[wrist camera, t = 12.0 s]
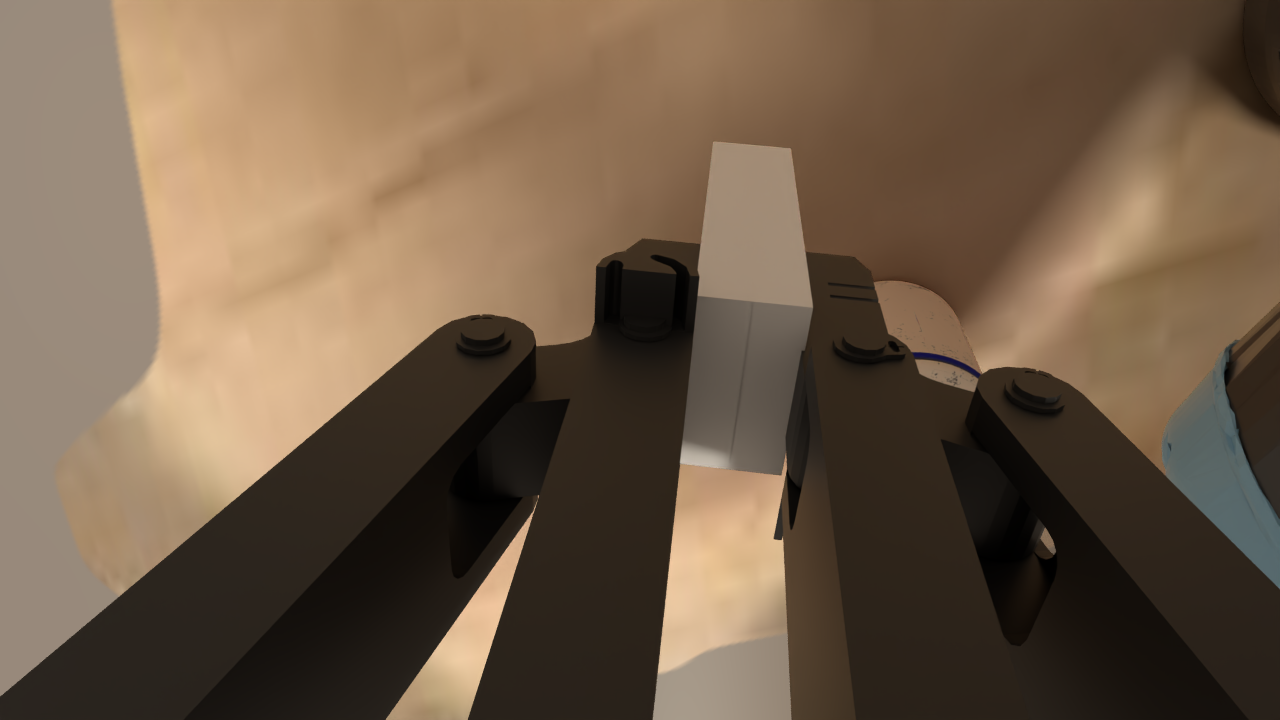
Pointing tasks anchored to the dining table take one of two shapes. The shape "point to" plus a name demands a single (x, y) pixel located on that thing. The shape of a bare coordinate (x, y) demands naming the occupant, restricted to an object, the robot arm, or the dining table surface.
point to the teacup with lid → (929, 333)
